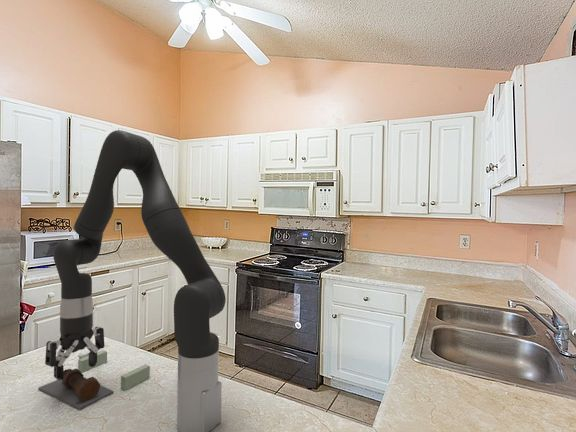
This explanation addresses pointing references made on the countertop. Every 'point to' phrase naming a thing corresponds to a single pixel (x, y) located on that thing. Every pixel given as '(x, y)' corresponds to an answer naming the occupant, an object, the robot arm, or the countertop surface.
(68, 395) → the mat
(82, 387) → the bolt
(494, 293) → the countertop surface
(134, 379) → the rails
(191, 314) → the robot arm
